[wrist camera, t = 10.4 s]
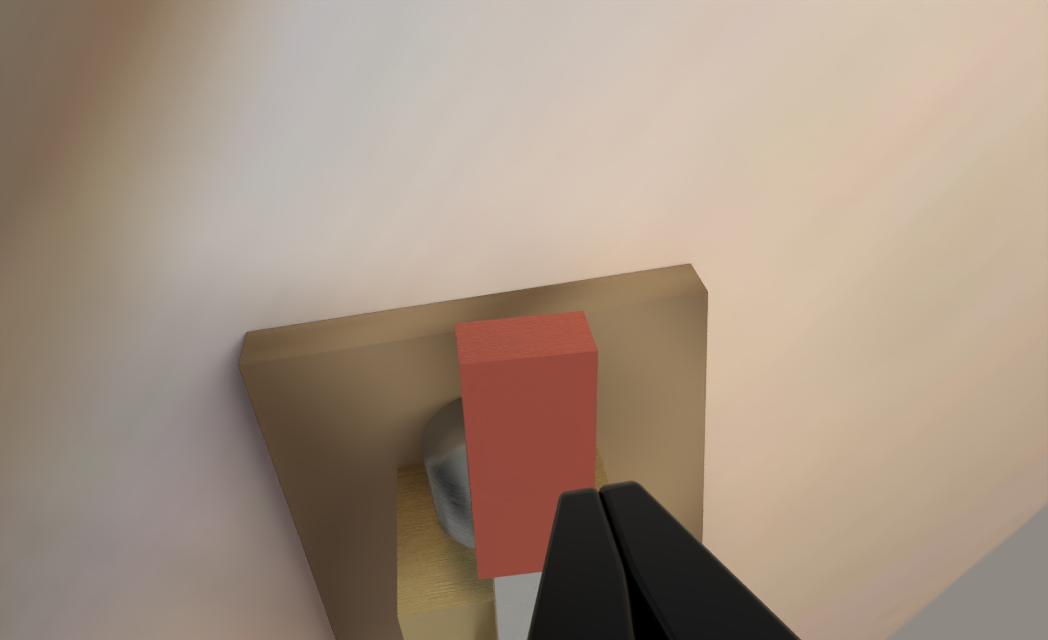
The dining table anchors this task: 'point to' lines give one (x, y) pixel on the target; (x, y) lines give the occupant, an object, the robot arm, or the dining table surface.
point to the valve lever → (524, 444)
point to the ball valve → (443, 540)
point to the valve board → (433, 382)
